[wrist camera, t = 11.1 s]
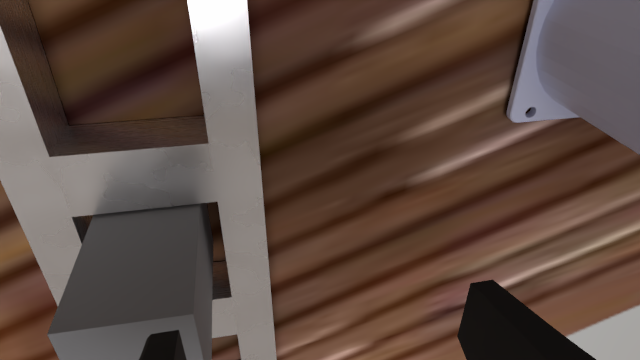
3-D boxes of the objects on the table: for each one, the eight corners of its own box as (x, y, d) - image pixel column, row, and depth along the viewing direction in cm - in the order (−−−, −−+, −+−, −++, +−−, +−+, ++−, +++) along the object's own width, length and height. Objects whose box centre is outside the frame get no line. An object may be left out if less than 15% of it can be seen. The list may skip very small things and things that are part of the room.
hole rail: (238, -73, 15) (241, -67, 13) (275, 367, 28) (280, 405, 26) (-61, -69, 14) (-110, -61, 12) (124, 392, 27) (116, 434, 25)
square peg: (201, 172, 20) (193, 313, 13) (213, 242, 22) (210, 393, 16) (106, 181, 19) (47, 334, 13) (127, 252, 21) (86, 414, 15)
